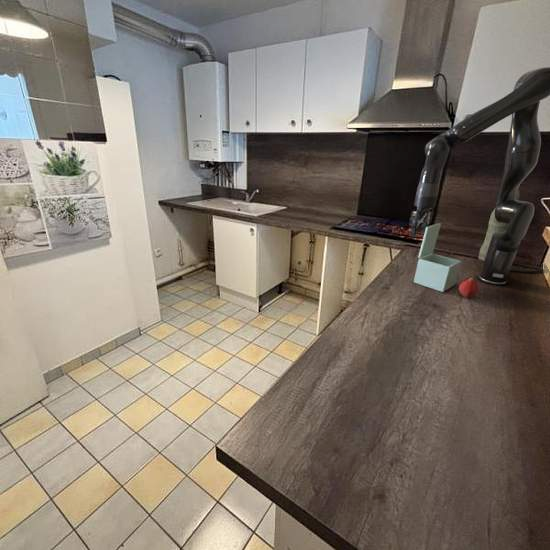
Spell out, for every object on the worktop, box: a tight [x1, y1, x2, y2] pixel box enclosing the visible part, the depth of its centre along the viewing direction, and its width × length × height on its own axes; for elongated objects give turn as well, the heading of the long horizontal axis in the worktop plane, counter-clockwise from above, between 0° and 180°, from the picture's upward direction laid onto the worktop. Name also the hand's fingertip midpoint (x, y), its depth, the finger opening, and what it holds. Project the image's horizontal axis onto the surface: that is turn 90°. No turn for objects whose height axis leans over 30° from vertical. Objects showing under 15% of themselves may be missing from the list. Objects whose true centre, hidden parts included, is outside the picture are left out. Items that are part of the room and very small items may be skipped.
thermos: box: [477, 189, 520, 262], centre depth 141 cm, size 9×12×35 cm
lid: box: [417, 222, 442, 259], centre depth 118 cm, size 12×12×5 cm
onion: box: [458, 277, 479, 299], centre depth 106 cm, size 6×6×8 cm
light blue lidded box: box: [413, 252, 462, 293], centre depth 117 cm, size 12×12×10 cm
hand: (417, 234), depth 120 cm, fingers open, 8 cm apart
